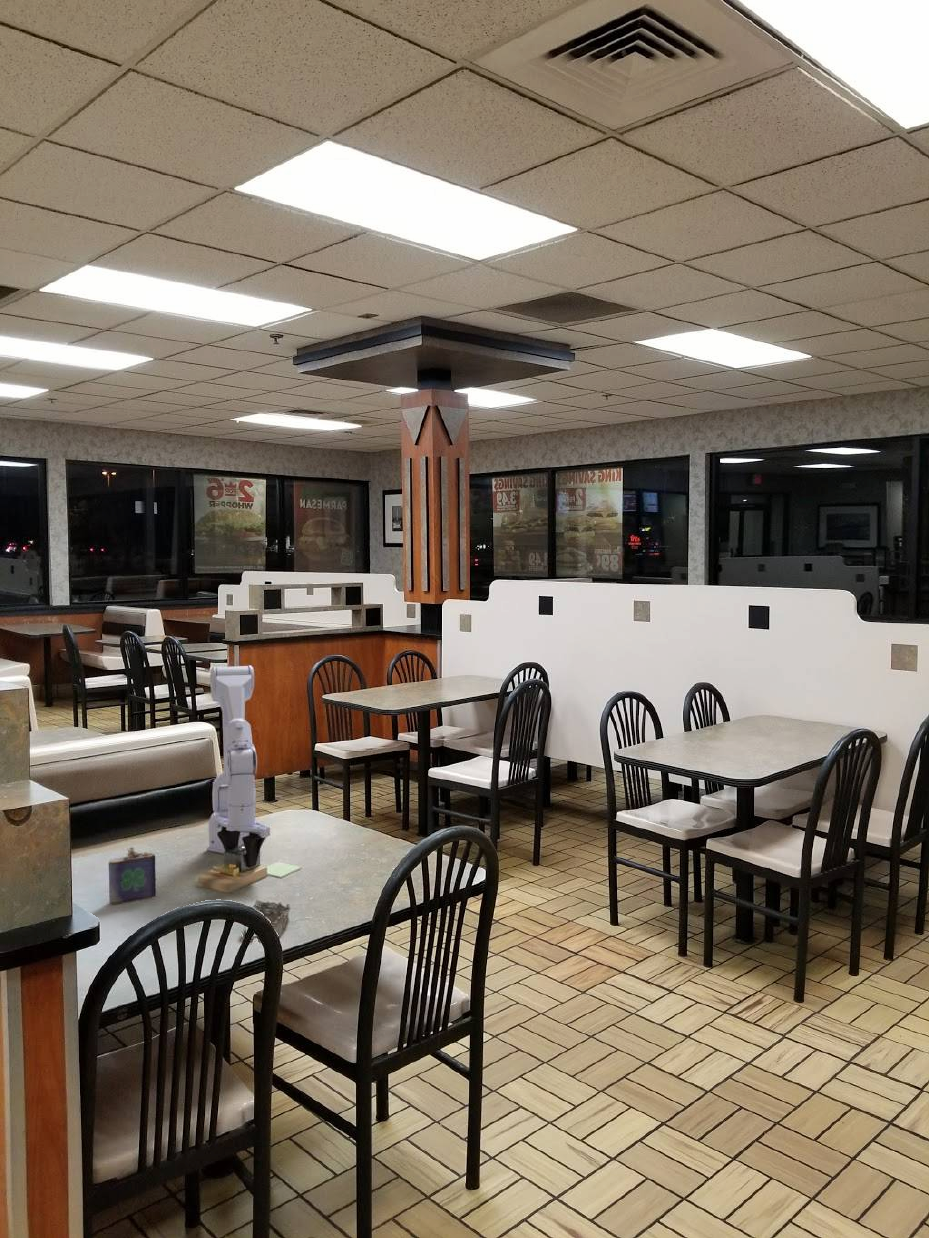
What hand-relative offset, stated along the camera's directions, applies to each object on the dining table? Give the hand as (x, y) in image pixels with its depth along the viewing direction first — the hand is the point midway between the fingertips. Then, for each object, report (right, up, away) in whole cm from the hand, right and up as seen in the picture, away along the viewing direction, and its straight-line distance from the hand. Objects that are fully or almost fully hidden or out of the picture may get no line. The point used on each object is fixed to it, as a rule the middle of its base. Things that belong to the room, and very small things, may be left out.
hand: (242, 863), depth 208 cm
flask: (-19, -4, -13) cm, 24 cm away
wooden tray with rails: (-1, -3, -2) cm, 4 cm away
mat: (+7, -3, +4) cm, 9 cm away
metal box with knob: (0, -1, 0) cm, 1 cm away
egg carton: (+11, -6, -27) cm, 30 cm away
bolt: (-1, -1, -5) cm, 6 cm away
